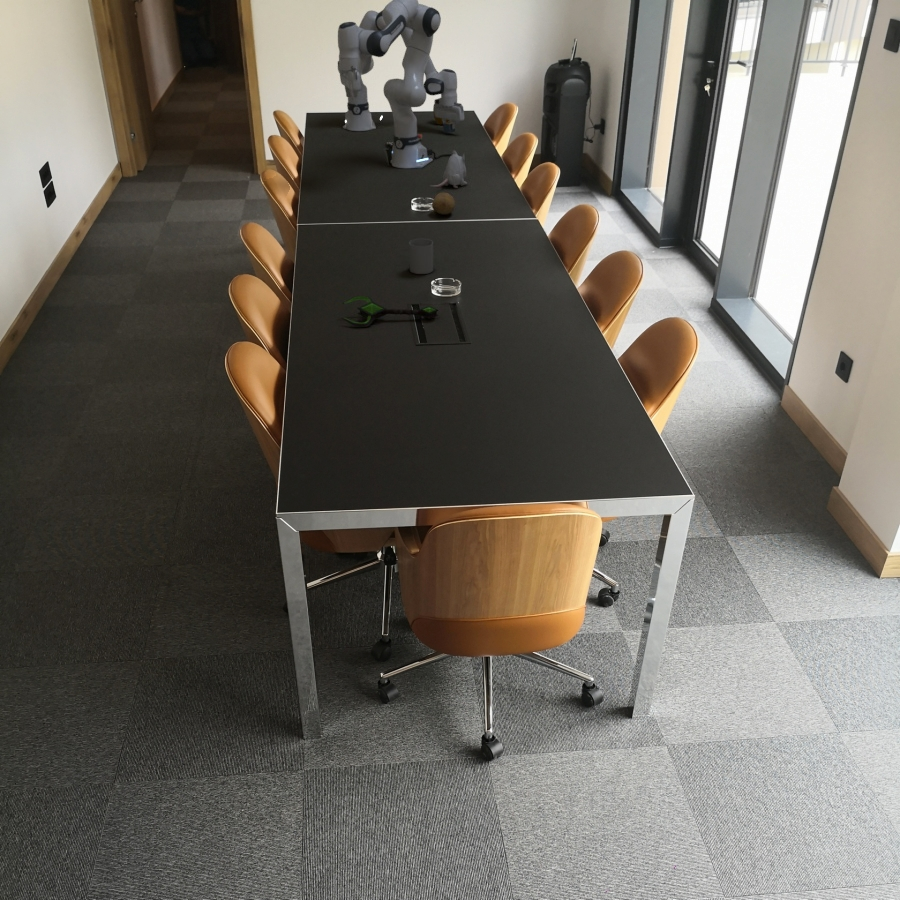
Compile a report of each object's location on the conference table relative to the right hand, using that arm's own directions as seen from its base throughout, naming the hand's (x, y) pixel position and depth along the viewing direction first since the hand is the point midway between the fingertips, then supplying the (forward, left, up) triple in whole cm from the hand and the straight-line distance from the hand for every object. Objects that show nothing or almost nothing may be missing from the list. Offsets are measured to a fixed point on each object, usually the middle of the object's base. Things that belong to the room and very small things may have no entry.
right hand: (351, 99), depth 378 cm
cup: (+73, +84, -38) cm, 118 cm away
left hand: (-108, -17, -34) cm, 115 cm away
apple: (-128, -34, -38) cm, 138 cm away
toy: (-18, +38, -38) cm, 56 cm away
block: (-108, -17, -36) cm, 115 cm away
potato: (+14, +56, -38) cm, 69 cm away
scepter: (+114, +99, -38) cm, 156 cm away
